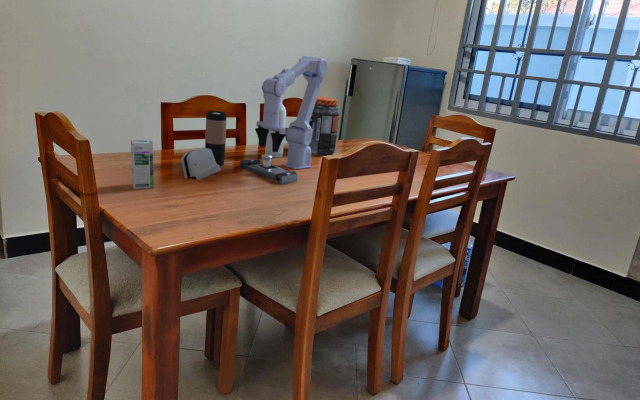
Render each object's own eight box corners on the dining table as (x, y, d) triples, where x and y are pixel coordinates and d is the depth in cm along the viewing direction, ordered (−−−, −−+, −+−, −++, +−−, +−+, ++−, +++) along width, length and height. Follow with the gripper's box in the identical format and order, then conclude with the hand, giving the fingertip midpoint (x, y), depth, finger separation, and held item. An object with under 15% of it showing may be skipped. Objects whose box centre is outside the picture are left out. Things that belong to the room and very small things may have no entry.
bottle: (286, 156, 196) (292, 88, 186) (275, 158, 189) (281, 88, 180) (272, 152, 199) (277, 85, 190) (261, 154, 193) (266, 85, 183)
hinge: (197, 180, 148) (188, 151, 146) (185, 182, 150) (177, 154, 147) (221, 169, 163) (214, 143, 161) (210, 172, 165) (203, 146, 163)
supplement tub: (305, 147, 219) (310, 94, 211) (336, 151, 218) (342, 99, 209) (299, 153, 204) (305, 97, 196) (332, 158, 203) (339, 101, 194)
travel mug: (200, 163, 168) (201, 111, 162) (212, 160, 175) (214, 110, 169) (217, 167, 166) (219, 114, 159) (228, 164, 172) (230, 113, 166)
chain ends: (255, 164, 177) (255, 156, 176) (297, 181, 160) (298, 172, 159) (238, 166, 171) (238, 157, 170) (280, 184, 154) (281, 175, 153)
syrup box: (133, 189, 133) (132, 142, 128) (131, 183, 137) (130, 138, 133) (153, 188, 135) (153, 142, 131) (151, 183, 140) (150, 138, 135)
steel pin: (267, 171, 168) (268, 154, 166) (273, 174, 165) (274, 156, 163) (258, 172, 165) (259, 154, 163) (264, 175, 163) (265, 157, 160)
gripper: (250, 109, 160) (248, 145, 164) (275, 116, 151) (272, 154, 155) (265, 109, 165) (263, 144, 169) (291, 116, 156) (287, 153, 160)
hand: (268, 149), depth 163 cm, fingers open, 7 cm apart
